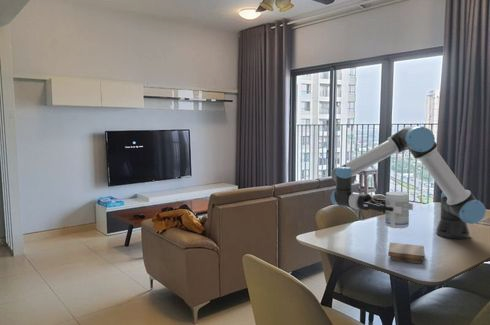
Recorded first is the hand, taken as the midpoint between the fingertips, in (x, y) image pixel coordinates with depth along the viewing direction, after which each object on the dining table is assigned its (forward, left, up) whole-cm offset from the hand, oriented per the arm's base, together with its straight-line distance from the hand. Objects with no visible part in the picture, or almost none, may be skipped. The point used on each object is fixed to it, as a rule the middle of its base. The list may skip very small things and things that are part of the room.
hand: (406, 208), depth 159 cm
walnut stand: (0, -1, -22) cm, 22 cm away
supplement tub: (+4, -2, -9) cm, 10 cm away
